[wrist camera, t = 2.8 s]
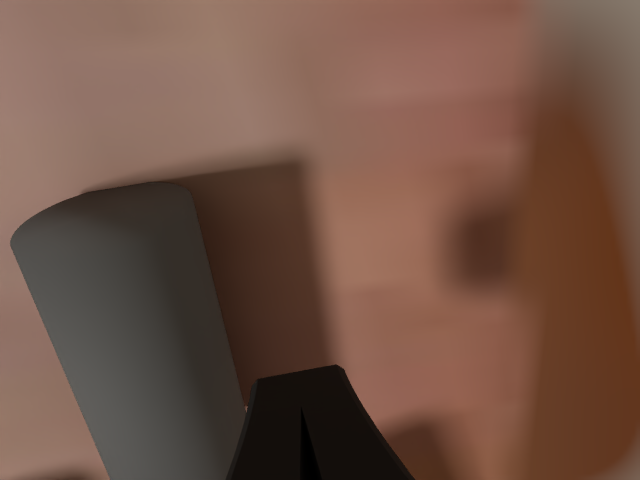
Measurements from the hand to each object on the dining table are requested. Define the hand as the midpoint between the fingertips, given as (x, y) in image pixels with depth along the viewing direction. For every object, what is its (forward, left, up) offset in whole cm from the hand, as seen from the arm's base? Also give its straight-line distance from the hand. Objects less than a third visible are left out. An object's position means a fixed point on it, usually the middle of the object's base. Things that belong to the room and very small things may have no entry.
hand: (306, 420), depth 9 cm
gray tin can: (0, +4, -2) cm, 4 cm away
